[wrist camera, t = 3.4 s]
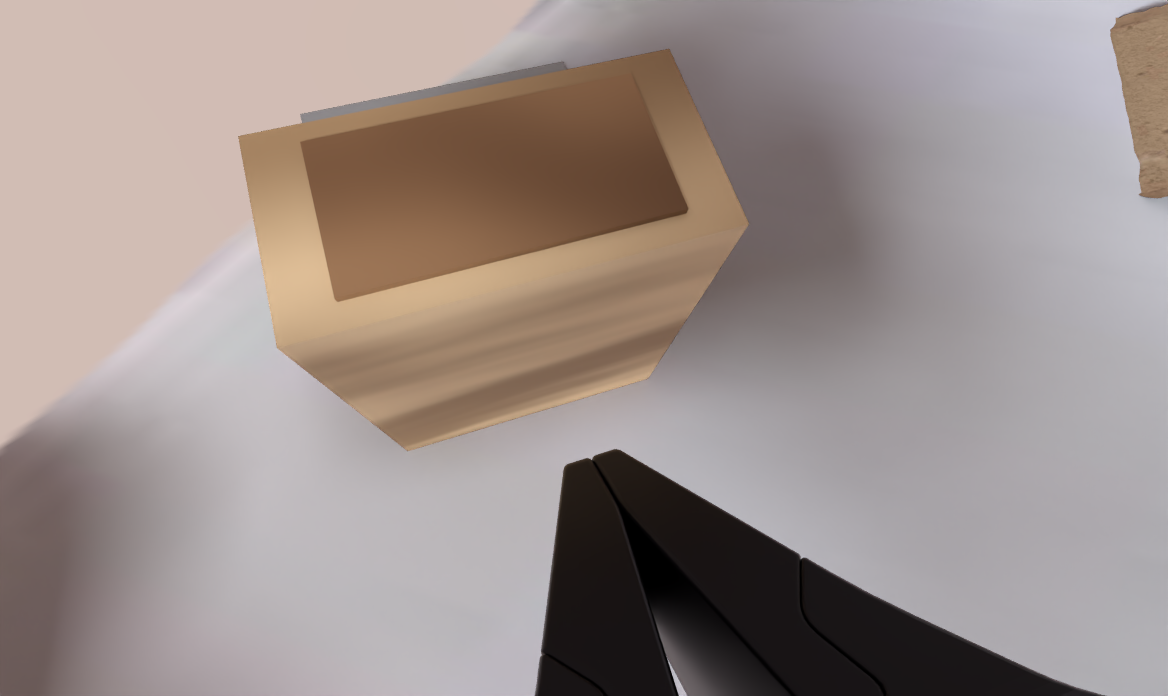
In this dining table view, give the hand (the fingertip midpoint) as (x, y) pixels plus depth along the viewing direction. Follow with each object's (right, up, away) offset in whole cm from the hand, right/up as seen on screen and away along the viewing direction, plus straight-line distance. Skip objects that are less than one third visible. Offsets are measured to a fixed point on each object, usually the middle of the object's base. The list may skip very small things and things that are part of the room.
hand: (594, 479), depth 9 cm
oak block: (-2, +2, +11) cm, 11 cm away
